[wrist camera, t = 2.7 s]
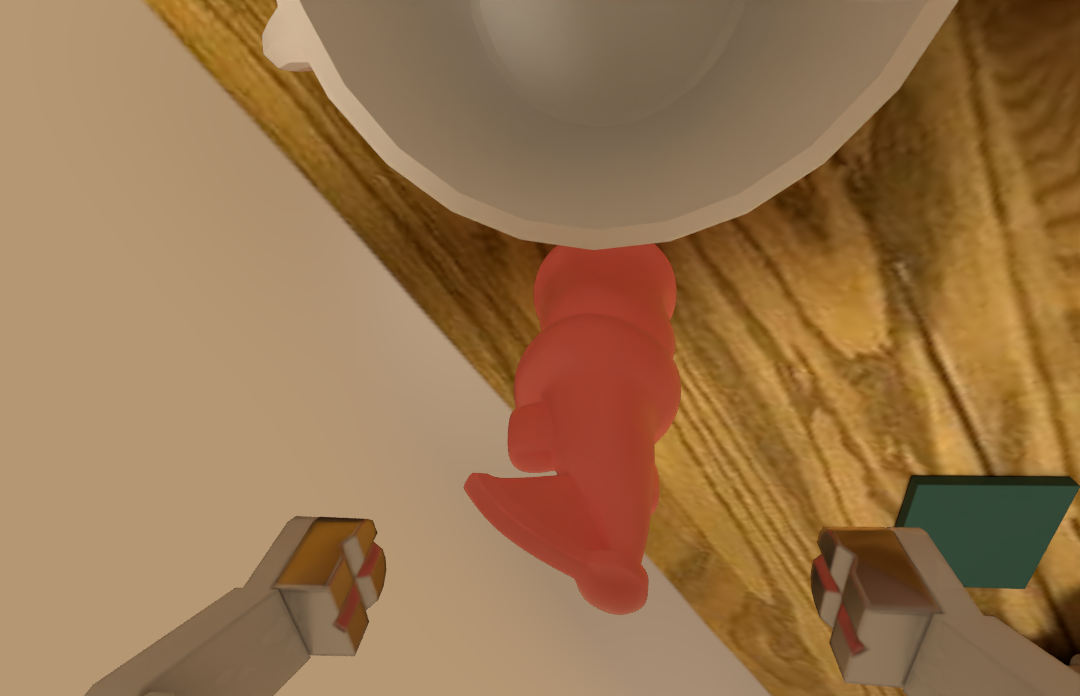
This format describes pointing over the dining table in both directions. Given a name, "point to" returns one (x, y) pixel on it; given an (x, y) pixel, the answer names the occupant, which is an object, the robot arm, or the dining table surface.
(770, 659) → the dining table surface
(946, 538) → the mat
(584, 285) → the figurine
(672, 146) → the mug
